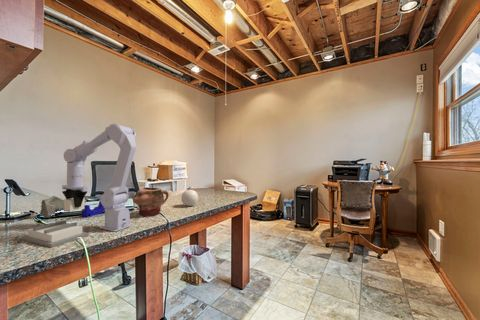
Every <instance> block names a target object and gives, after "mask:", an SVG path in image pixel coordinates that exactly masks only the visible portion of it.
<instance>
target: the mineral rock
mask: <svg viewBox="0 0 480 320" xmlns="http://www.w3.org/2000/svg"><path fill="white" fill-rule="evenodd" d="M40 208H41V210H40V211H39V215H40V214H41V215H43V216H44V218H43V219H47V218H52V217H51V214H52V213H55V212H57V211H61V210H64V199H63V198H59V197H58V196H56V195H53V196H51V197H49V198H46V199H45V198H44V199H42V200H41V205H40Z"/></svg>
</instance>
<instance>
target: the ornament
mask: <svg viewBox="0 0 480 320" xmlns="http://www.w3.org/2000/svg"><path fill="white" fill-rule="evenodd" d="M198 201H199V194H198V192H197V191H195V190H194V189H192V187H191V186H188V189H186V190H185V191H184V192H183V193H182V195H181V202H182V204H183V205H184V206H186V207H193V206H195V205H196V204H197V202H198Z"/></svg>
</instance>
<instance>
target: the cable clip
mask: <svg viewBox="0 0 480 320" xmlns="http://www.w3.org/2000/svg"><path fill="white" fill-rule="evenodd" d="M104 209H105V208H104V206H102V204H101V200H100V201H98V205H97V206H95V207H93V209H91V205H89V204H85V206H84V209H82V210H81V218H85V219H86V218H89V217H94V216H96V215H100V214H103V210H104ZM92 210H93V211H92Z"/></svg>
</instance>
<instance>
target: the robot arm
mask: <svg viewBox="0 0 480 320" xmlns="http://www.w3.org/2000/svg"><path fill="white" fill-rule="evenodd" d="M136 137H137V133H136V131H135V129H133V128H132V127H130V126H124V125H120V124H117V123H111V124H109V126H107V127H105V129H104V131H103V132H101V133H100V134H98V135H97V136H96V137H94V138H93V139H92V140H89V139H87V140H83V141H82V143H81V144H79V145H76V146H74V148H68V149H67V148H66V150H65V151H64V152H63V160H64V161H65V162H66V184H62V185H61V188H62V191H61V192H62V194H63V196H64V197H65V199H71V198H74V205H75V207H81V205H82V201H83V199H84V198H85V197H86V195H87V193H88V192H89V186H86V184H84V165H85V161H86V160H87V157H89V156H91V155H92V154H94V153H96V152H98V151H97V150H98V147H100V146H102V145H104V144H107V143H108V142H110V141H113V143H115V144H117V146H118V147H119V149H120V150H119V153H118V157H117V161H116V164H115V168H114V171H113V175H112V180H111V182H110V184H109V185H108V186H107V187H106V188H105V190H104V193H103V194H102V195H100V196H101V197H100V201H101V204H102V206H104V208H105V212H104V225H102V226H100V227H99V229H102V230H107V231H111V232H118V231H120V230H124V229H126V228H129V227H132V225H131V224H130V223H131V221H130V220H131V212H130V210H129V208H127V207H125V206H126V203H127V202H128V200H129V190H130V189H129V188H128V187H127V186H126V185H127V181H128V178H129V174H130V171H131V166H132V163H133V160H134V156H135V153H136V150H137V144H136Z"/></svg>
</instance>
